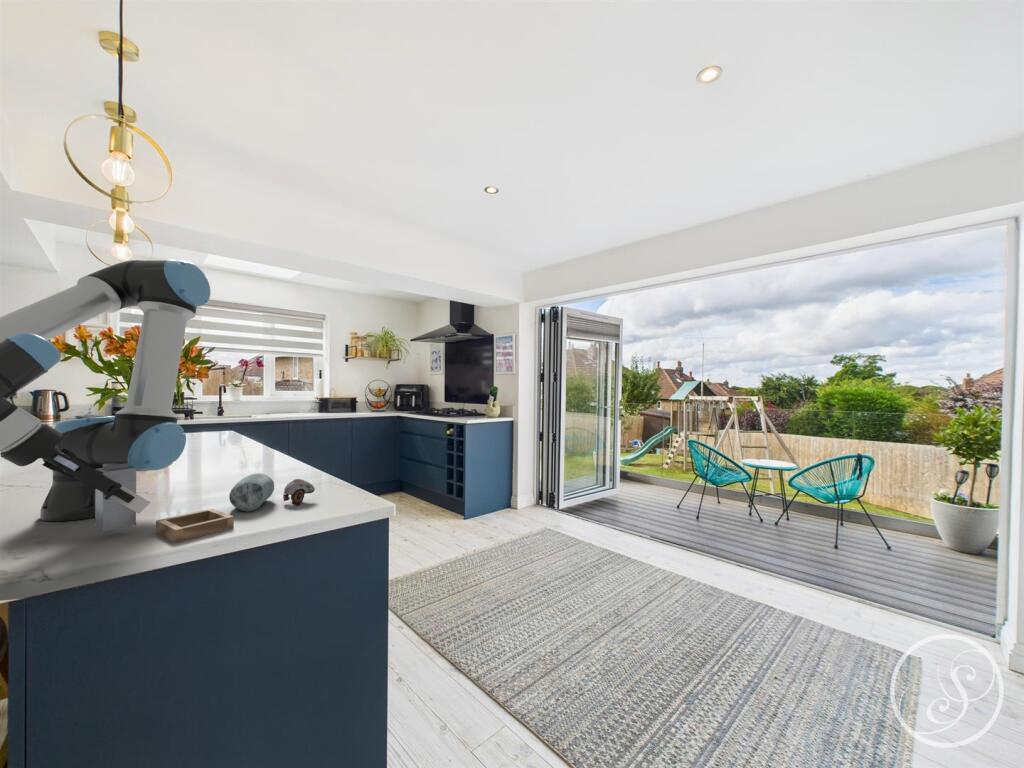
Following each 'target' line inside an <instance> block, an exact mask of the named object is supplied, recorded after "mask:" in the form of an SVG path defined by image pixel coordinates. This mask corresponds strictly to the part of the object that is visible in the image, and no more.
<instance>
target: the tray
mask: <svg viewBox="0 0 1024 768" xmlns="http://www.w3.org/2000/svg"><path fill="white" fill-rule="evenodd" d="M234 520H235V517H234V515H232V514H231V515H230V514H228V513H225V512H222V511H220V510H218V509H215V508H208V509H205V510H204V509H203V510H200V511H195V512H191V513H186V514H180V515H175V516H172V517H166V518H162V519H157V520H156V522H155V533H156V534H158V535H160V536H162V537H164V538H166V539H167V540H170V541H172V542H174V543H180V542H183V541H187V540H191V539H195V538H199V537H203V536H207V535H211V534H215V533H219V532H221V531H222V532H224V531H226V530H230V529H234V526H235V522H234Z"/></svg>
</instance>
